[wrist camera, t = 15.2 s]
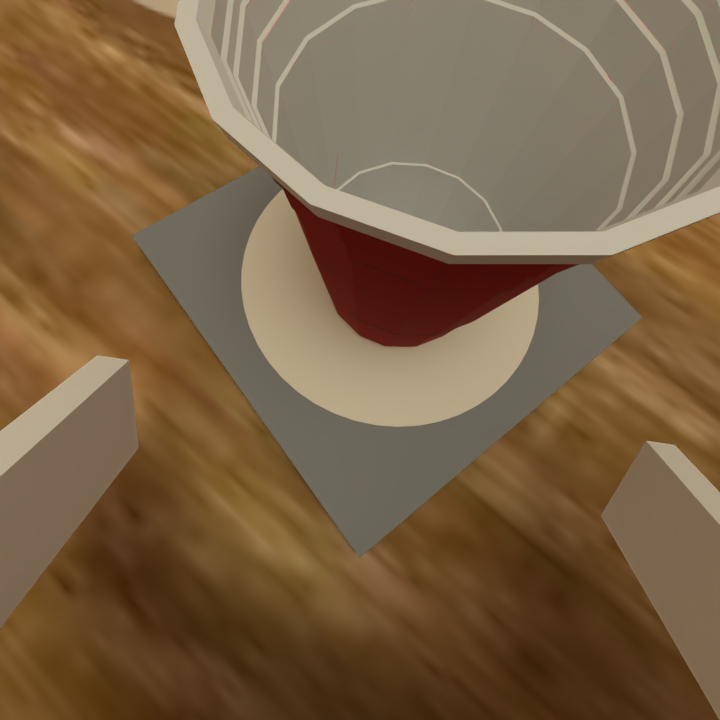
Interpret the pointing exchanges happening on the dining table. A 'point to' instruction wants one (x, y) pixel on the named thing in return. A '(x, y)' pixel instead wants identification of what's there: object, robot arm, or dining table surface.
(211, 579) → the dining table surface
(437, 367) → the square coaster
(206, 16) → the plastic cup
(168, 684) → the dining table surface
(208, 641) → the dining table surface
